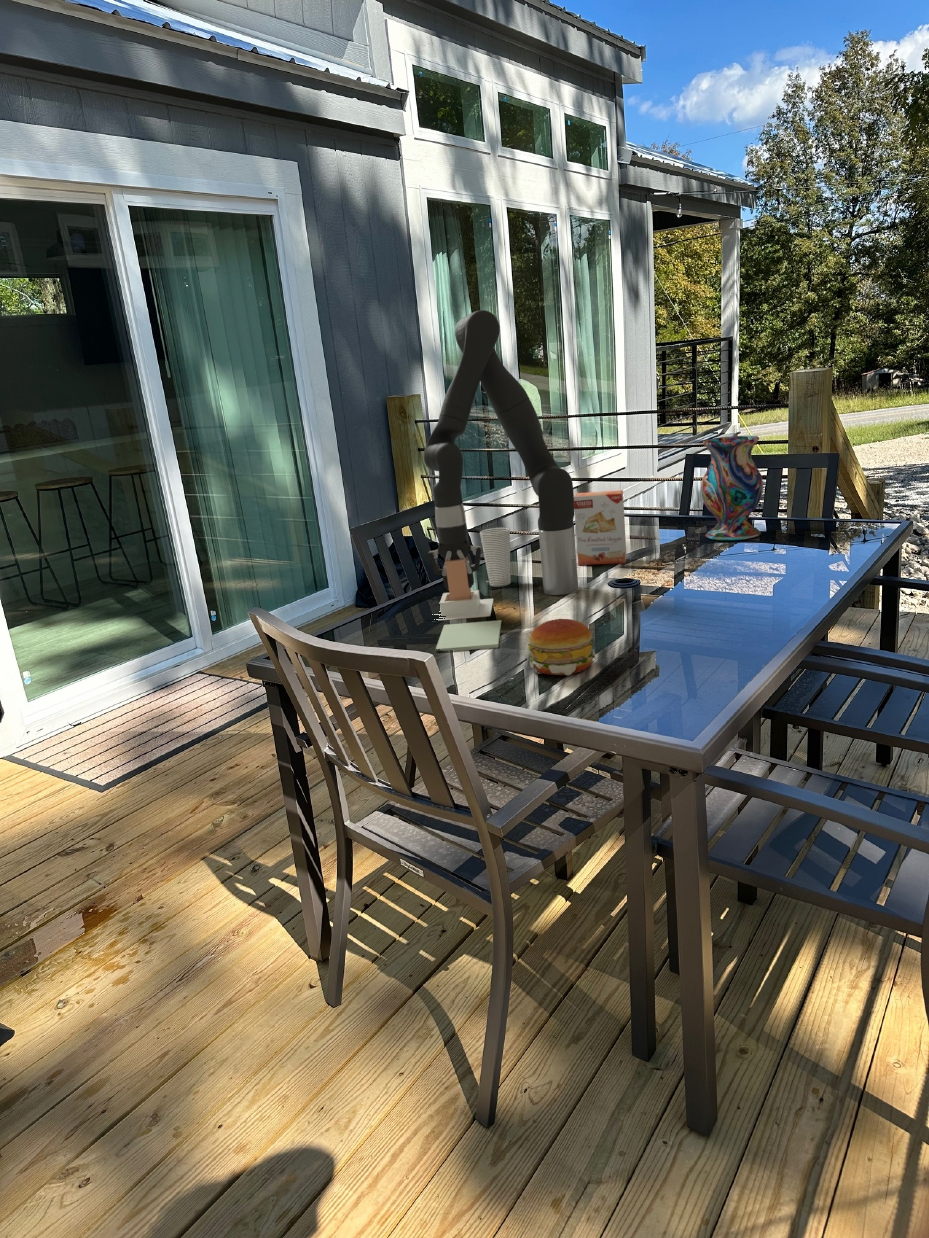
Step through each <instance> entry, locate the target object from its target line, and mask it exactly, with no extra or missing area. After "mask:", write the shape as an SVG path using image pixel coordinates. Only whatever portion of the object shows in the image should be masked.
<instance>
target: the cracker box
mask: <svg viewBox="0 0 929 1238" xmlns="http://www.w3.org/2000/svg"><path fill="white" fill-rule="evenodd" d="M624 503H625V502H624V491H623V489H622V490H621V489H620V490H608V491H607V490H605V491H592V492H576V493H575V494H574V522H575V524H574V525H575V536H576V538H575V539H576V551H577V552H576V554H577V563H578V564H577V565H578V566H587V565H589V566H590V565H591V566H592V565H609V564H610V565H612V564H614V565H615V564H626V561H627V544H626V543H627V541H626V524H625V521H626V520H625V505H624Z"/></svg>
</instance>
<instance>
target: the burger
mask: <svg viewBox="0 0 929 1238" xmlns="http://www.w3.org/2000/svg"><path fill="white" fill-rule="evenodd" d="M592 638H593V634H592V632H591V630H590V628H588V626H587V625H586V624H584V623H583V622H580V621H578V620H574V619H571V618H557V619H551V620H547V621H545V622H543V623H542V622H541V624H539V625H538V626H536V627H535V628H534V629H533V630H532V632H531V633H530V634H529V643H528V644H527V646H528V647H527V649H528V650H529V651H530V654H529V656H528V658H529V665H530V668H531V669H535V670H536V671H537V672H539V673H541V674H546V675H549V676H550V675H551V676H571V675H572V674H576V673H580V672H582V670H583V671H586V668H587V667H588V668H589V667H590V666H591V664H592V662H593V659H596V657H597V656H596V652H595V651H594V650H593V643H594V642H593V639H592ZM588 668H587V669H588Z"/></svg>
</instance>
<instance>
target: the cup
mask: <svg viewBox="0 0 929 1238" xmlns="http://www.w3.org/2000/svg"><path fill="white" fill-rule="evenodd" d="M510 531H511V530H510V528H508V527H500V526H499V527H489V528H486V529H482V530H480V531H479V536H480V541H481V547H482V551H483V557H484V561H485V567H486V568H485V569H486V572H487V577H488V582H489V586H490V587H497V588H499V587H504V586H508V585H510V584H511V537H510V536H511V532H510Z"/></svg>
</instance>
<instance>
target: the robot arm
mask: <svg viewBox="0 0 929 1238" xmlns="http://www.w3.org/2000/svg"><path fill="white" fill-rule="evenodd" d="M500 331H501V329H500V323H499V320H498V318H497V316H495V315H494V314H493V312H490V311H489V310H486V309H481V310H480V309H479V310H475V311H473V312H471V313H469V314H468V315H466V316H464V317H462V318H461V319H460V320H458V322H457V324H456V325H455V329H454V338H455V341H456V345H457V346H458V348H459V349H460V351H461V352H462V355H461V359H460V363H459V365H458V368H457V370H456V372H455V374H454V376H453V379H452V380H451V382H450V385H449V387H448V388H447V391H446V392H445V396H444V398H443V402H442V405H441V409H440V412H439V416H438V420H437V423H436V425H435V427H434V428H433V429H432V432H431V434H430V436H429V438H428V440H427V442H426V444H425V447H424V451H423V460H424V463H425V466H426V467H427V468H428V469H430V470H431V471H434V472H438V482H436V483H434V485H433V487H432V494H433V495H432V496H433V500H434V501H433V503H434V513H435V514H434V515H435V516H434V517H435V525H436V531H437V540H438V548H437V549H435V550H430V551H429V552H428V553H427V557H428V559H429V562H430V564H431V567H432V569H433V571H434V575H436V576H437V575H441V576H442V581H443V587H444V589H446V590H447V591H449V587H448V580H447V572H446V564H445V561H450V560H458V559H460V560H463V559H465V562H466V568H467V572H468V574H467V576H468V584H469V588H470V589H472V587H473V586H474V585H475V584H474V583H475V579H474V572H476V571H478V570H479V569H480V565H481V557H482V550H483V547H482V545H477V546H476V545H472V544H471V543H470V541H469V534H468V533H469V532H468V526H467V518H466V511H465V507H464V506H465V505H464V504H463V503H464V502H463V493H462V487H461V486H462V481H463V472H464V458H463V453H462V450H461V448H460V447H459V446H458V445H457V444H456V443H455V441H456V439H457V438H458V437H460V436H461V435H463V434H464V433H465V431H466V429H467V425H468V421H469V419H470V416H471V415H470V414H471V410H472V407H473V404H474V400H475V397H476V394H477V390H478V388H479V385H480V384H481V387H482V388H483V391H484V393H485V395H486V397H487V398H488V401H489V403H490V405H491V406H492V409H493V411H494V413H495V414H496V417H497V419H498V421H499V423H500V425H501V428H503V430H504V432H505V434H506V436H507V438H508V439H509V440H510V442H511V444H512V446H513V447H514V449H515V451H516V452H517V453H518V455H519V458H520V459H521V462H522V464H523V466H524V468H525V471H526V473H527V476H528V479H529V482H530V485H531V487H532V490H533V492H534V494H535V495H536V496H537V498H538V499H537V500H538V510H539V511H538V513H539V517H538V519H537V529H538V539H539V550H540V562H541V563H540V564H541V573H542V575H541V576H542V586H543V593H544V594H546V595H550V596H562V595H564V596H565V595H569V594H573V593H578V592H580V590H579V589H580V588H579V578H578V566H577V565H578V564H577V563H578V560H577V552H576V542H575V541H576V540H575V530H574V519H575V509H574V496H575V494H574V485H573V479H572V477H571V475H570V473H569V472H568V471H567V470H566V469H564V468H561V467H559V465H558V463H557V462H556V461H555V459H554V458H553V456H552V454H551V452H550V450H549V449H548V446H547V444H546V441H545V439H544V435H543V431H542V428H541V423H540V420H539V416H538V414H537V411H536V410H535V407H534V405H533V403H532V401H531V399H530V397H529V395H528V393H527V391H526V390H525V388H524V387H523V386H522V384H521V383H520V382H519V381H518V379H516V378H515V376H514V375H513V374H511V373H510V371H508V369H507V368H506V366H505V365H504V364H503V363H502V361H501V359H500V357H499V355H498V353H497V351H496V349H495V346H496V345H497V342H498V339H499V337H500ZM471 551H472V554H473V555H474V556H475V557H474V558H475V559H474V565H472V564H471V563H470V560H469V558H468V556H469V553H470V552H471ZM438 555H440V556H441V557H442V558H443V559H444V563H443V567H442V568H440V567H441V566H440V564H439V562H438V560H437V559H438Z"/></svg>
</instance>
